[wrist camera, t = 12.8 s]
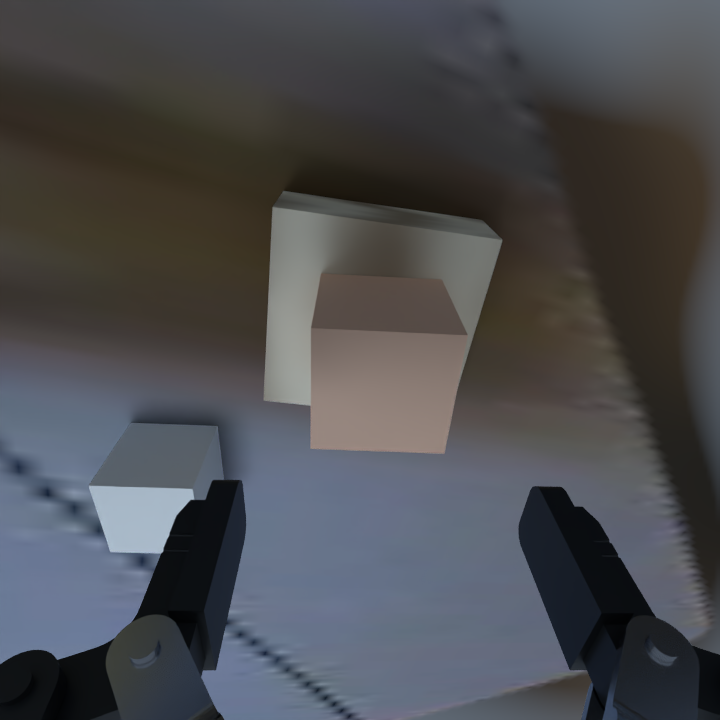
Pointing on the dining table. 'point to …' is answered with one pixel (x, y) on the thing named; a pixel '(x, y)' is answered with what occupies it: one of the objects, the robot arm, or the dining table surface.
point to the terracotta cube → (384, 364)
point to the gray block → (361, 270)
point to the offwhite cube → (153, 482)
